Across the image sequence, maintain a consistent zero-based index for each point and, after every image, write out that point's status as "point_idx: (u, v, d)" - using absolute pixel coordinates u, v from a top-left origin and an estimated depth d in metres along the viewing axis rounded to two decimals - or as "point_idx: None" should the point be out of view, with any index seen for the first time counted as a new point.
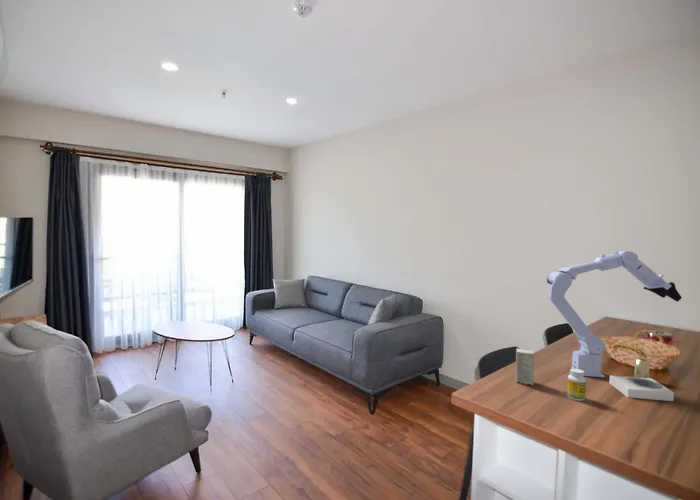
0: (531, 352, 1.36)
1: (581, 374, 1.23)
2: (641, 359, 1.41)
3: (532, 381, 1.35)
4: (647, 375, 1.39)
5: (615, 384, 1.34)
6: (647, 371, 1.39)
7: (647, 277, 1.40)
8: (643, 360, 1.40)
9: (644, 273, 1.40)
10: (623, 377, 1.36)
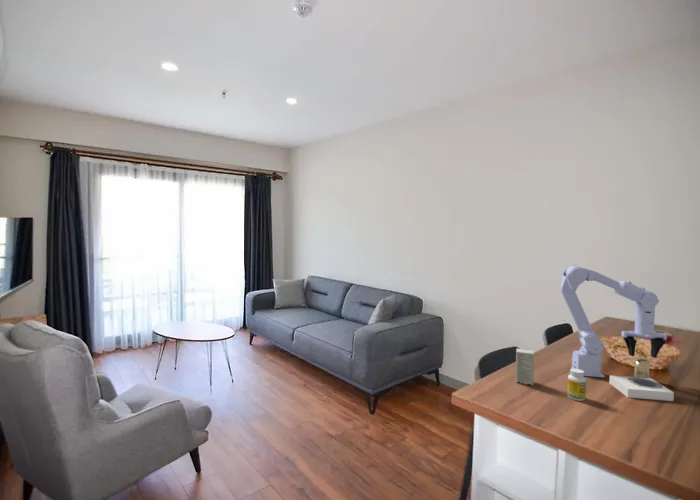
0: (531, 352, 1.36)
1: (581, 374, 1.23)
2: (641, 359, 1.41)
3: (532, 381, 1.35)
4: (647, 375, 1.39)
5: (615, 384, 1.34)
6: (647, 371, 1.39)
7: (635, 322, 1.42)
8: (643, 360, 1.40)
9: (646, 319, 1.38)
10: (623, 377, 1.36)
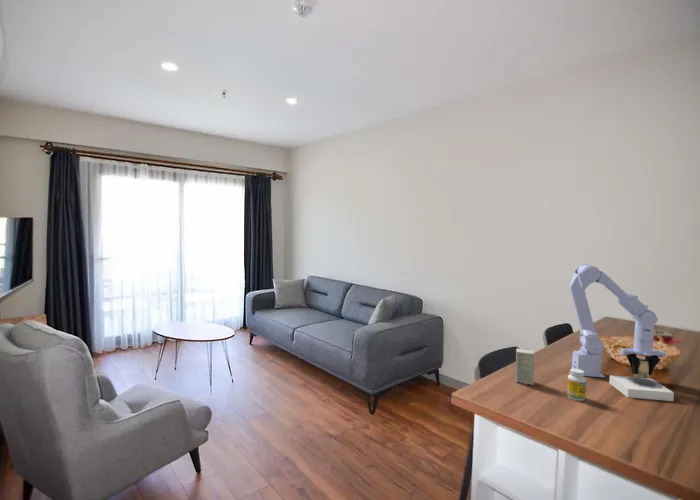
0: (531, 352, 1.36)
1: (581, 374, 1.23)
2: (641, 359, 1.41)
3: (532, 381, 1.35)
4: (647, 375, 1.39)
5: (615, 384, 1.34)
6: (647, 371, 1.39)
7: (634, 339, 1.42)
8: (643, 360, 1.40)
9: (645, 337, 1.38)
10: (623, 377, 1.36)
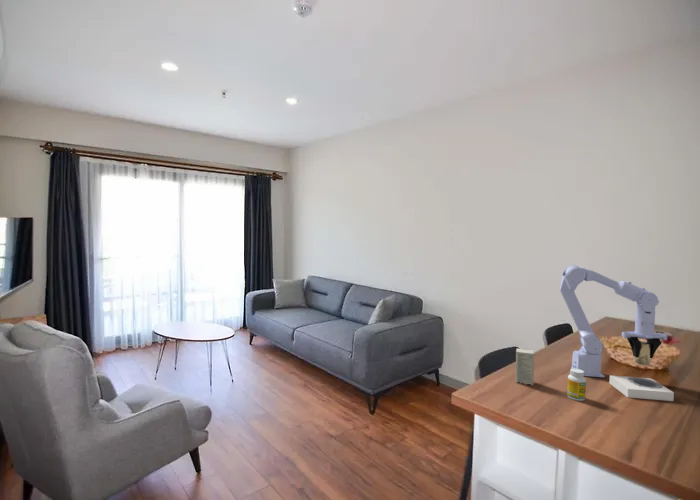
0: (531, 352, 1.36)
1: (581, 374, 1.23)
2: (642, 342, 1.40)
3: (532, 381, 1.35)
4: (648, 358, 1.38)
5: (615, 384, 1.34)
6: (648, 354, 1.38)
7: (635, 322, 1.41)
8: (644, 343, 1.39)
9: (645, 320, 1.37)
10: (623, 377, 1.36)
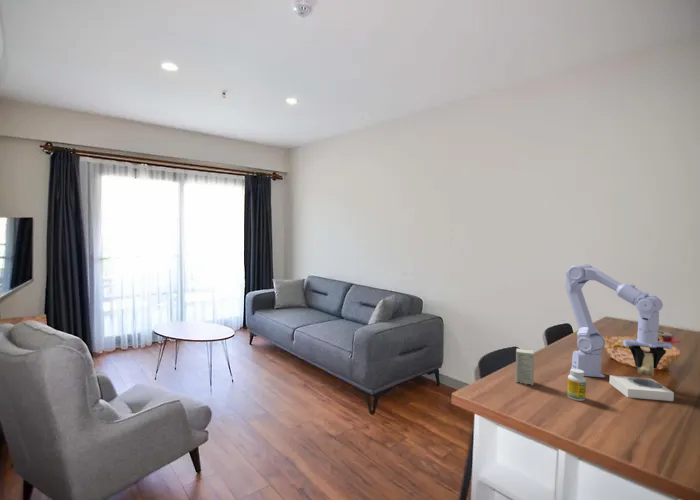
0: (531, 352, 1.36)
1: (581, 374, 1.23)
2: (645, 351, 1.31)
3: (532, 381, 1.35)
4: (652, 368, 1.29)
5: (615, 384, 1.34)
6: (652, 364, 1.29)
7: None
8: (647, 352, 1.30)
9: (642, 326, 1.29)
10: (623, 377, 1.36)
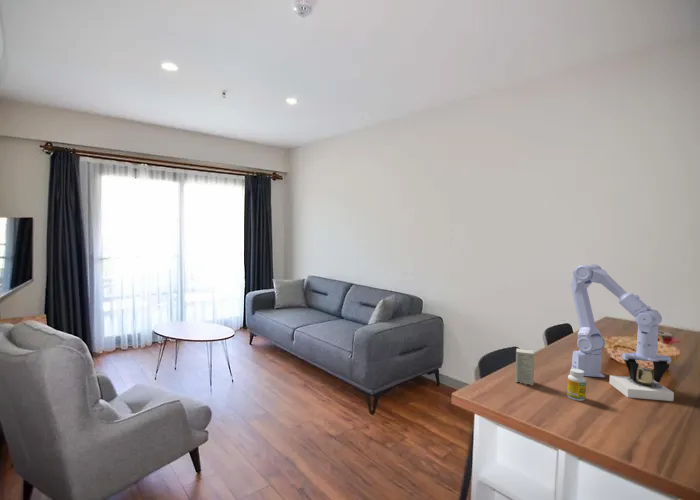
0: (531, 352, 1.36)
1: (581, 374, 1.23)
2: (644, 369, 1.32)
3: (532, 381, 1.35)
4: (651, 386, 1.29)
5: (615, 384, 1.34)
6: (651, 382, 1.29)
7: (637, 343, 1.32)
8: (646, 370, 1.30)
9: (642, 340, 1.30)
10: (623, 377, 1.36)
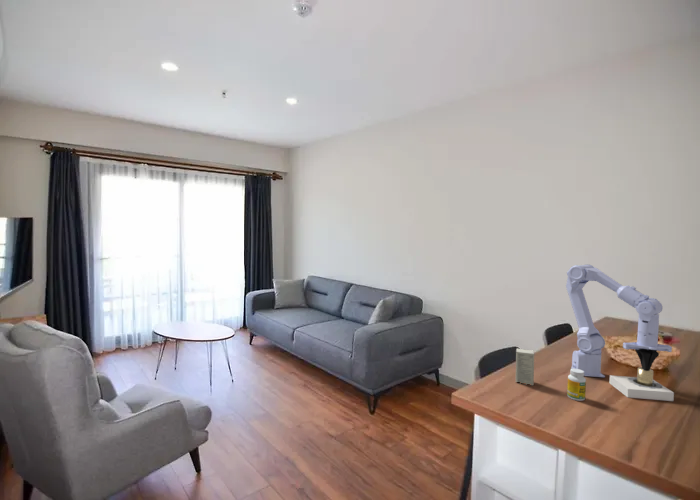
0: (531, 352, 1.36)
1: (581, 374, 1.23)
2: None
3: (532, 381, 1.35)
4: (651, 386, 1.29)
5: (615, 384, 1.34)
6: (651, 382, 1.29)
7: None
8: (646, 370, 1.30)
9: (642, 329, 1.29)
10: (623, 377, 1.36)
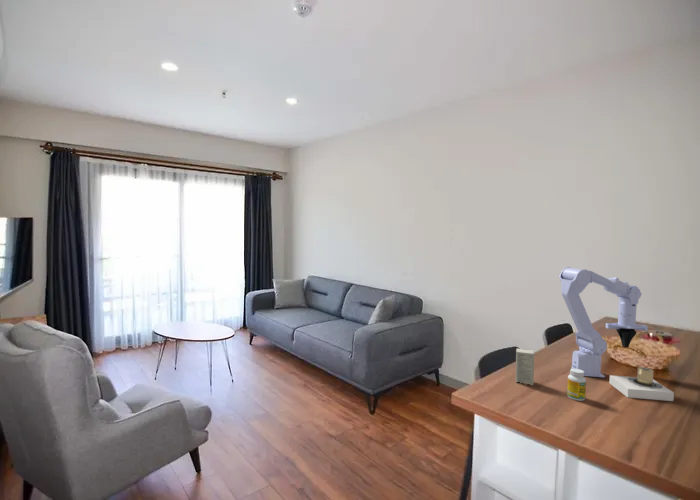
0: (531, 352, 1.36)
1: (581, 374, 1.23)
2: (644, 369, 1.32)
3: (532, 381, 1.35)
4: (651, 386, 1.29)
5: (615, 384, 1.34)
6: (651, 382, 1.29)
7: (618, 314, 1.50)
8: (646, 370, 1.30)
9: (632, 312, 1.46)
10: (623, 377, 1.36)
